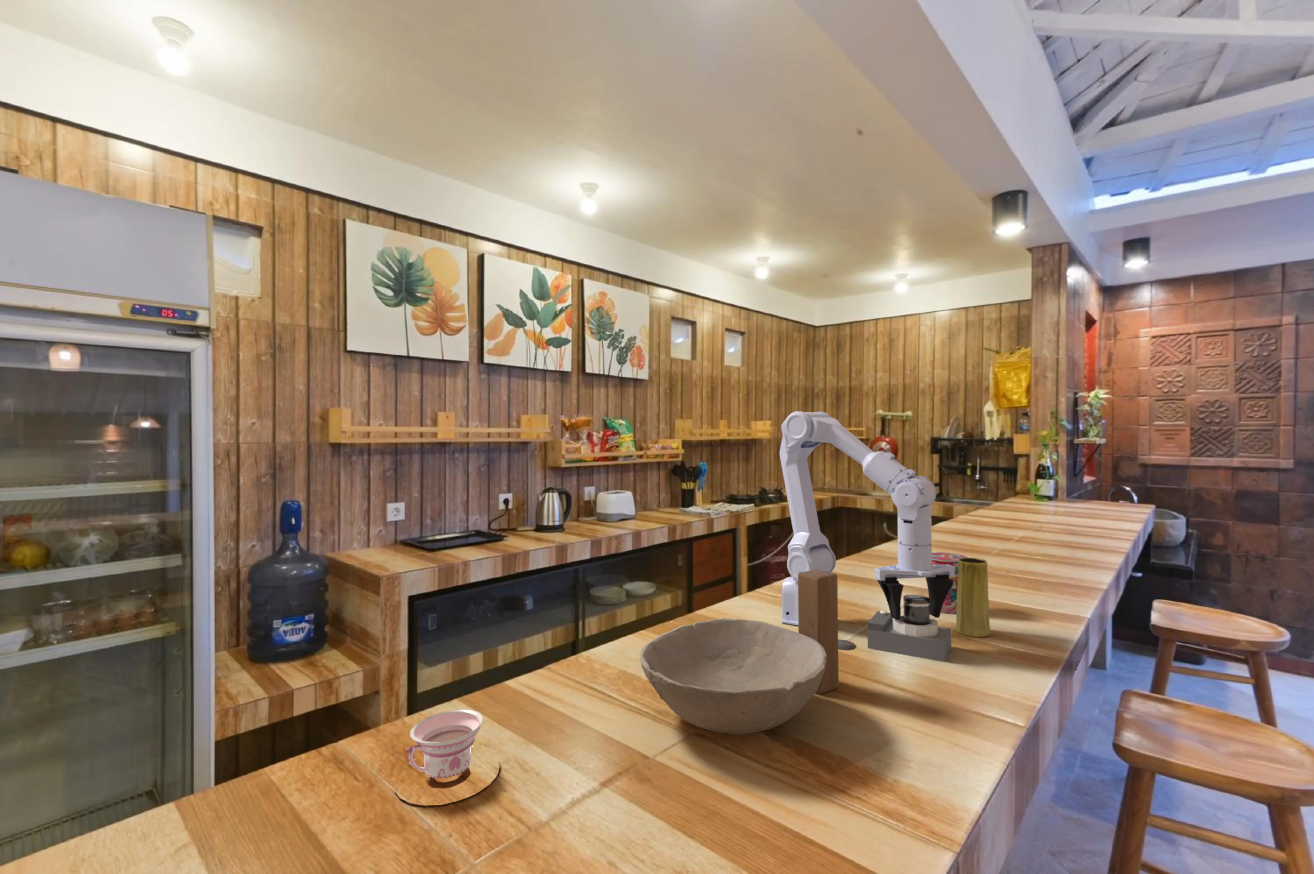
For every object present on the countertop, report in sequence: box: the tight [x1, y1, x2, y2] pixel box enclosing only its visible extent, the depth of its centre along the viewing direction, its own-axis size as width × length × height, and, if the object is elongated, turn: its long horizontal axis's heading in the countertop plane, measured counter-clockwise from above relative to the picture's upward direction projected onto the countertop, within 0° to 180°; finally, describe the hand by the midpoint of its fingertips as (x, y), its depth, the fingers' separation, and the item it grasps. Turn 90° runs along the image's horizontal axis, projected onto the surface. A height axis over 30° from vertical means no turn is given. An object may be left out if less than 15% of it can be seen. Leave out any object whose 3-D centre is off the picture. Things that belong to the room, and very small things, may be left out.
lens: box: [902, 594, 931, 625], centre depth 110 cm, size 4×4×6 cm
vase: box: [955, 557, 991, 638], centre depth 118 cm, size 6×6×14 cm
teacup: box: [406, 709, 484, 779], centre depth 72 cm, size 12×12×6 cm
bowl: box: [638, 618, 827, 736], centre depth 85 cm, size 26×26×10 cm
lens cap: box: [838, 639, 856, 651], centre depth 113 cm, size 5×5×1 cm
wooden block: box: [797, 569, 840, 695], centre depth 97 cm, size 9×4×18 cm, turn 33°
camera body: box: [867, 610, 952, 663], centre depth 111 cm, size 13×8×5 cm, turn 57°
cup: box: [932, 552, 970, 615], centre depth 133 cm, size 9×8×12 cm
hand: (915, 617), depth 110 cm, fingers open, 7 cm apart
